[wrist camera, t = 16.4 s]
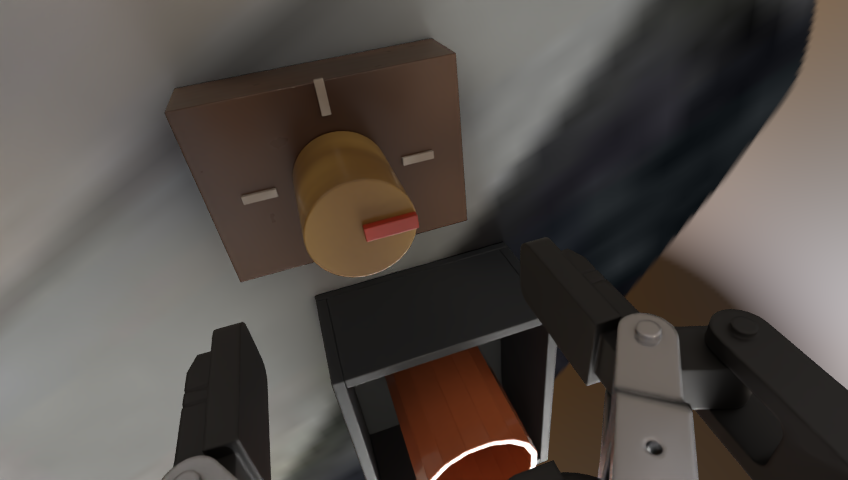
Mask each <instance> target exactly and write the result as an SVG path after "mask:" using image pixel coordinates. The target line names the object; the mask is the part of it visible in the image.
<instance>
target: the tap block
mask: <svg viewBox="0 0 848 480" xmlns="http://www.w3.org/2000/svg"><path fill="white" fill-rule="evenodd" d="M165 115H166V117H167V120H168V122H169V124H170V126H171V129H172V131H173V133H174V135H175V137H176V140H177V142H178V144H179V146H180V149H181V151H182V153H183V155H184V157H185V160H186V162H187V164H188V166H189V169H190V171H191V173H192V175H193V177H194V180H195V182H196V184H197V186H198V189H199V191H200V193H201V195H202V197H203V200H204V202H205V204H206V206H207V209H208V211H209V213H210V215H211V217H212V220H213V222H214V224H215V226H216V229H217V231H218V233H219V235H220V237H221V240H222V242H223V244H224V246H225V249H226V251H227V253H228V255H229V257H230V260H231V262H232V264H233V266H234V269H235V271H236V273H237V275H238V277H239V280H240V282H244V281H247V280H251V279H255V278H258V277H262V276H266V275H269V274H273V273H276V272H280V271H284V270H287V269H291V268H295V267H298V266H302V265H306V264H309V263H313V262H314V261H313V259H312V258H311V257H310V255H309V254H308V252H307V250H306V247H305V244H304V240H303V235H302V229H301V224H300V219H299V213H298V208H297V202H296V197H295V192H294V186H293V178H292V176H293V168H294V164H295V161H296V159H297V157H298V155H299V154H300V152H301V151H302V150H303V148H304V147H305V146H306V145H307V144H308V143H310V142H311V141H312V140H314V139H316V138H317V137H319V136H321V135H324V134H327V133H330V132H336V131H349V132H354V133H358V134H361V135H363V136H365V137H367V138H369V139H370V140H372V141H373V142H374V143H375V144H376V145H377V146H378V147H379V148H380V150H381V151H382V153H383V154H384V156H385V158H386V159H387V161H388V163H389V164H390V166H391V168H392V170H393V171H394V173H395V175H396V176H397V178H398V180H399V181H400V183H401V185H402V186H403V188H404V190H405V191H406V193H407V195H408V196H409V198H410V200H411V202H412V203H413V205H414V208H415V211H416V214H417V215H418V222H419V228H417V229H416V233H415V234H419V233H422V232H426V231H430V230H433V229H437V228H441V227H444V226H448V225H452V224H455V223H459V222H463V221H466V220H467V211H466V196H465V182H464V167H463V152H462V137H461V123H460V108H459V93H458V78H457V64H456V53H455V52H453V51H451V50H450V49H448V48H447V47H445V46H443V45H442V44H440V43H439V42H437V41H435V40H434V39H432V38H431V39H426V40H420V41H415V42H410V43H405V44H400V45H395V46H390V47H385V48H379V49H374V50H369V51H364V52H359V53H354V54H349V55H344V56H339V57H333V58H328V59H323V60H318V61H313V62H308V63H303V64H298V65H293V66H287V67H282V68H277V69H272V70H267V71H262V72H257V73H252V74H246V75H241V76H236V77H231V78H226V79H221V80H216V81H211V82H206V83H200V84H195V85H190V86H185V87H180V88H175V89H174V91H173V93H172V96H171V98H170V101H169V103H168V105H167V108H166V110H165Z"/></svg>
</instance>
